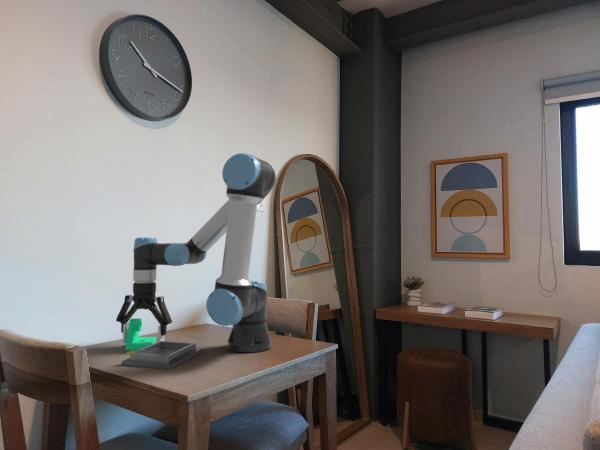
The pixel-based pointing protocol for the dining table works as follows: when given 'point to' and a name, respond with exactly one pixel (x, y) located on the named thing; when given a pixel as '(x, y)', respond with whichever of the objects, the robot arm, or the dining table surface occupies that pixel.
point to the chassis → (162, 355)
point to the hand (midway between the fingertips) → (143, 343)
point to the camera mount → (137, 336)
